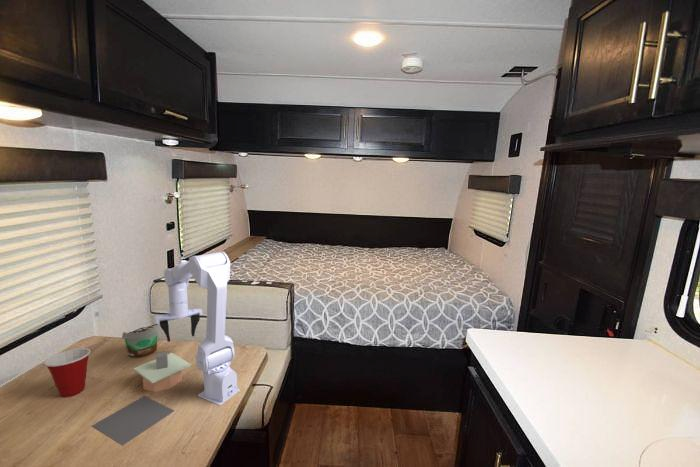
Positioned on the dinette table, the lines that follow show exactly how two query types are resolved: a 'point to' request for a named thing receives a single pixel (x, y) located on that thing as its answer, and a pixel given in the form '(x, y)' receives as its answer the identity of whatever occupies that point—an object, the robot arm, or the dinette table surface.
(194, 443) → the dinette table surface
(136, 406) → the mat
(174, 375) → the bowl
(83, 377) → the plastic cup
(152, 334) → the food container
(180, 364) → the sheet
